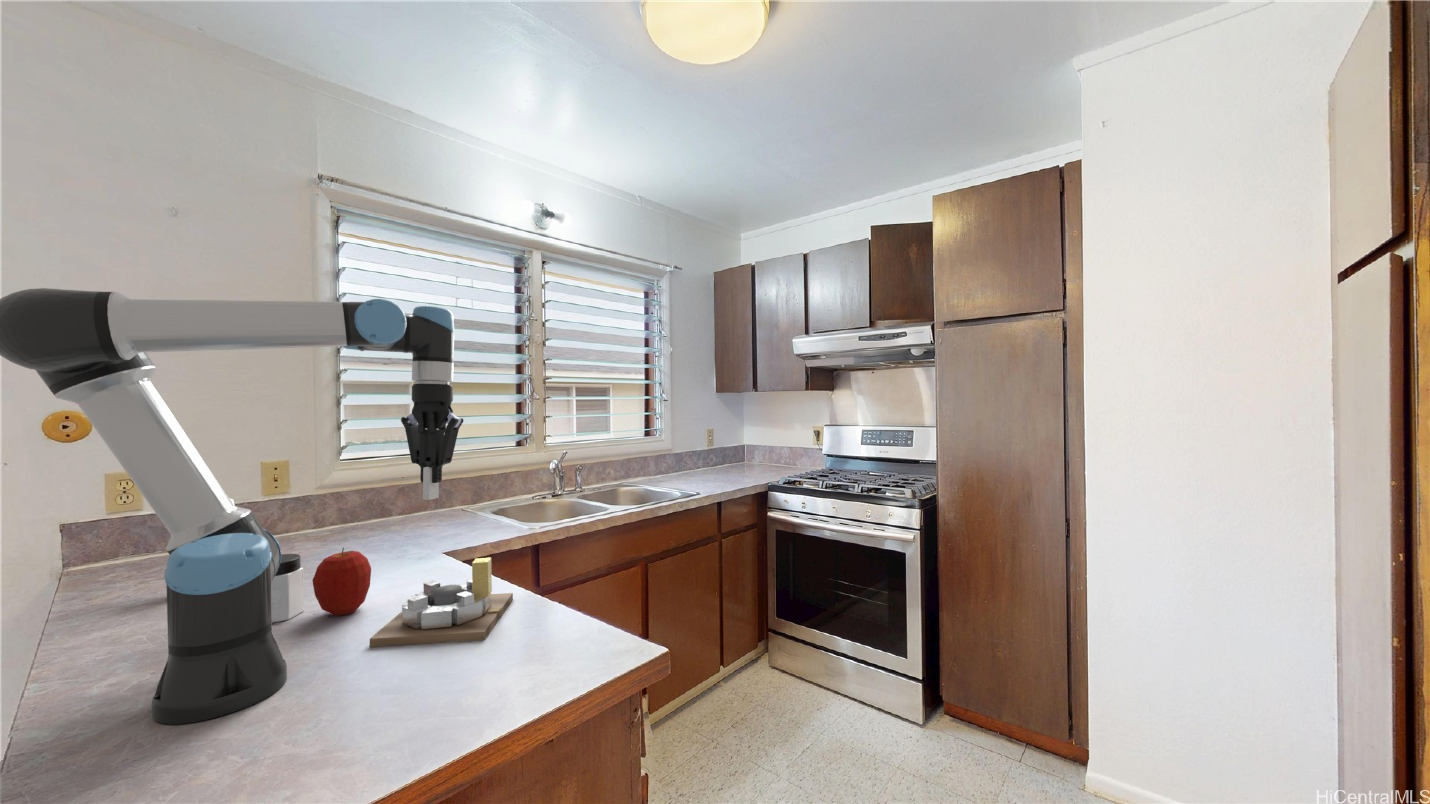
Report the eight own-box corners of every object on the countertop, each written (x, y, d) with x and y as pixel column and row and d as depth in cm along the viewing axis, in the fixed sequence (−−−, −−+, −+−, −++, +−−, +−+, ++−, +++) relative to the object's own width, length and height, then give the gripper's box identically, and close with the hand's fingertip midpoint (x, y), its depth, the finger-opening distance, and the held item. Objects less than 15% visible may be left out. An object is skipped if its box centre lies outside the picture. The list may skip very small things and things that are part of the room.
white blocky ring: (392, 631, 100) (391, 578, 100) (420, 601, 115) (419, 554, 115) (481, 623, 103) (480, 571, 103) (497, 595, 118) (497, 549, 118)
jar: (245, 628, 107) (244, 568, 106) (252, 615, 113) (251, 558, 113) (302, 617, 112) (301, 560, 111) (305, 605, 118) (304, 551, 118)
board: (484, 639, 100) (484, 604, 100) (369, 647, 98) (368, 611, 98) (512, 599, 120) (512, 570, 120) (417, 605, 118) (417, 575, 117)
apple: (359, 600, 121) (358, 538, 121) (381, 609, 116) (380, 544, 115) (304, 616, 112) (303, 549, 112) (326, 626, 107) (324, 556, 107)
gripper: (472, 384, 113) (470, 497, 113) (418, 384, 115) (416, 494, 115) (448, 382, 106) (446, 503, 105) (391, 382, 108) (388, 500, 108)
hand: (430, 498), depth 110 cm, fingers closed
